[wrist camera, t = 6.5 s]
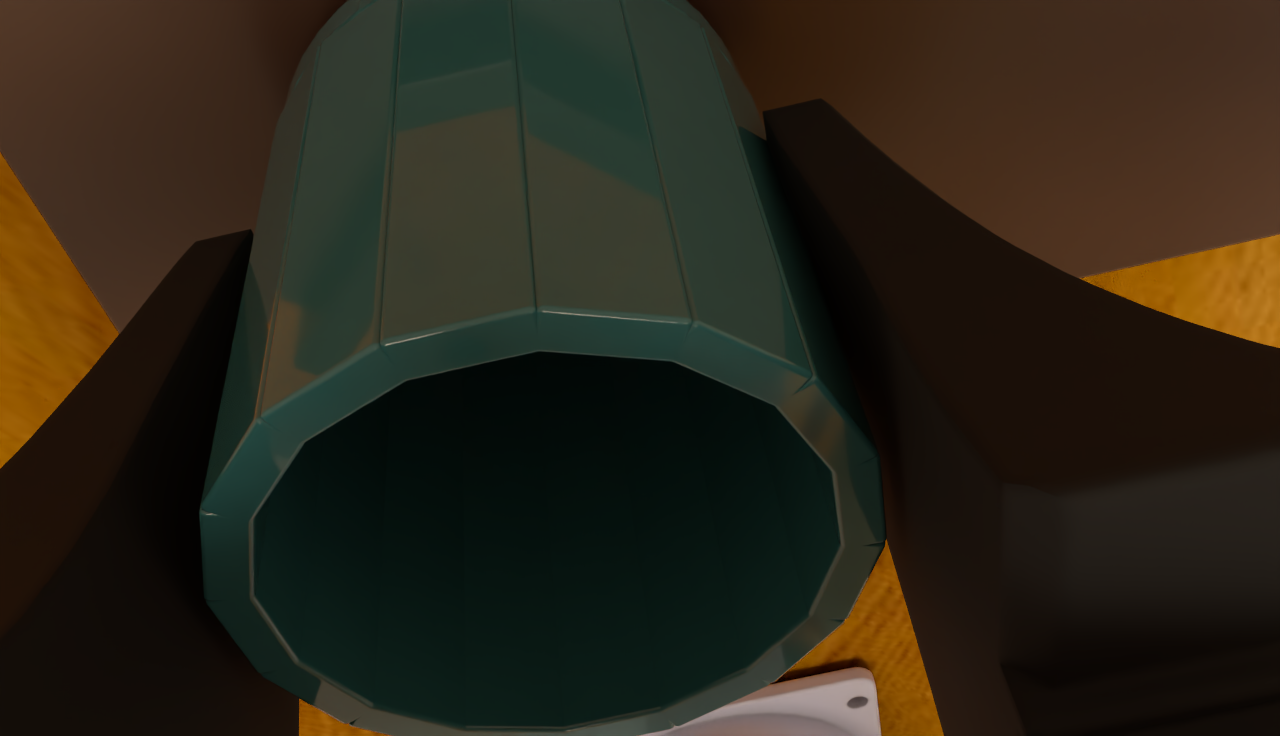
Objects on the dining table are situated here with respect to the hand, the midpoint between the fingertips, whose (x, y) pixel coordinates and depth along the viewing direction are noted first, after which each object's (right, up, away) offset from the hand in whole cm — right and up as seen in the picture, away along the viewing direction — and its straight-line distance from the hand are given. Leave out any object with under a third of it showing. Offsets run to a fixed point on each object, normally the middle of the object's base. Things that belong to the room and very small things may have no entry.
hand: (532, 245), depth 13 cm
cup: (0, +1, +1) cm, 2 cm away
